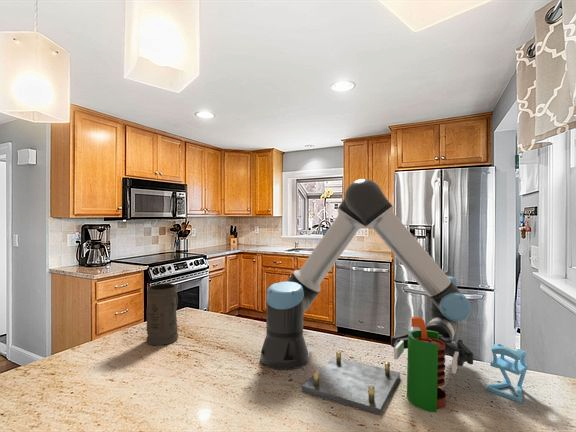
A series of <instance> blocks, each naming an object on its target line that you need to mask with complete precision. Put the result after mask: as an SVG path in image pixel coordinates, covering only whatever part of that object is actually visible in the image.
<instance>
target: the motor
mask: <svg viewBox="0 0 576 432" xmlns="http://www.w3.org/2000/svg"><path fill="white" fill-rule="evenodd" d="M426 326H427V324H426V323H425V321H424V319H423V318H422V317H421V316H411V325H410V327H411V328H419V329H414V330H409V331H410V332H409V331H408V332H409V333H408V332H407V333H408V348H407V360H406V361H407V368H406V369H407V371H406V399H407V400H408V401H409V403H411V405H413V406H414V407H416V408H418V409H421V410H423V411H426V412H431V413H437V411H438V410H442V409H444V408H446V406H447V393H446V391H445V390H443V389H442V388H441V387H443V386H445V383H446V379H445V377H446V372H445V371H446V353H445V350H444V349H445V348H446V344H445V343H444V342H443V341H441V340H439V332H435V331H430V330H426Z"/></svg>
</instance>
